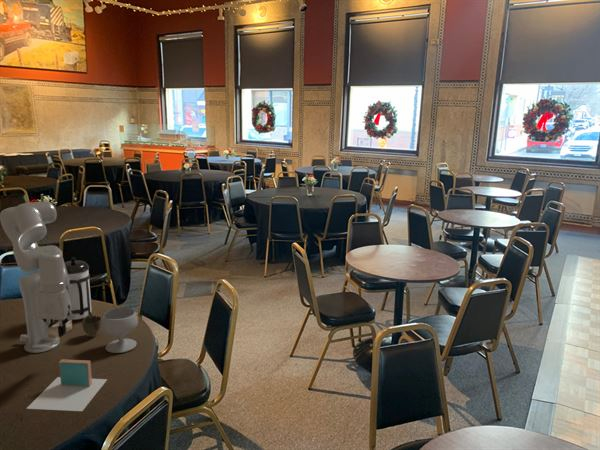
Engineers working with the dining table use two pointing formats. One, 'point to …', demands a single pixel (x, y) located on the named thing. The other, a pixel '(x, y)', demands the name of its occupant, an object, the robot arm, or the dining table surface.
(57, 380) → the tile board
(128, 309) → the chalice
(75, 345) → the dining table surface
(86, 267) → the coffee press
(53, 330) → the turner
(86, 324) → the cup
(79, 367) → the tile
